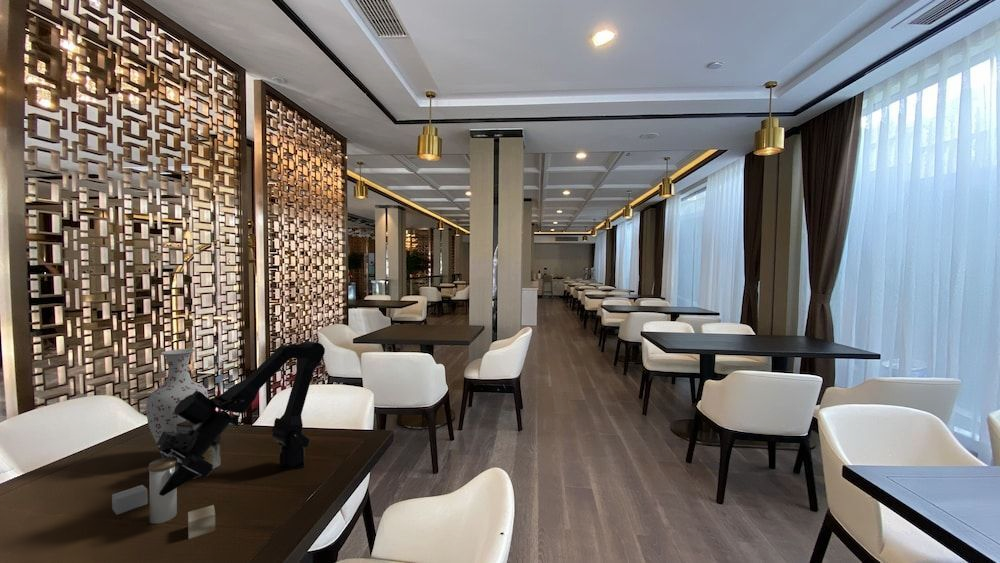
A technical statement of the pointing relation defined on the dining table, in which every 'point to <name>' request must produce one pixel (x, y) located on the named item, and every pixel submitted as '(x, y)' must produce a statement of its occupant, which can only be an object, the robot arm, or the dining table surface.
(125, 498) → the grey block
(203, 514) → the birch block
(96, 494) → the dining table surface
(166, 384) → the vase
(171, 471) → the ceramic jar
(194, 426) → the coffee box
